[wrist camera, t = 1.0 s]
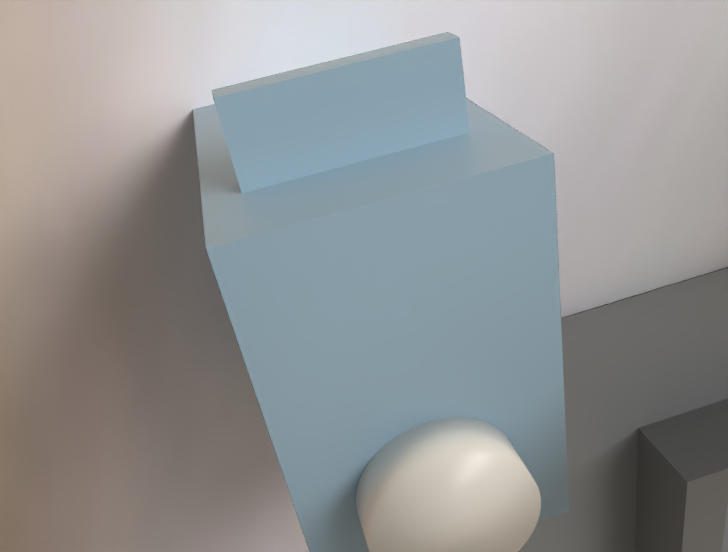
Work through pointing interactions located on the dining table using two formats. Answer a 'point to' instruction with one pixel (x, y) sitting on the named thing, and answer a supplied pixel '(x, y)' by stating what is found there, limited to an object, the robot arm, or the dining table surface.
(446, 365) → the block
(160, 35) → the dining table surface
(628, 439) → the chassis plate
